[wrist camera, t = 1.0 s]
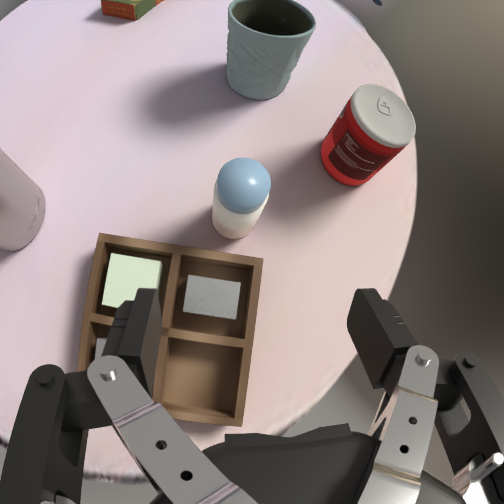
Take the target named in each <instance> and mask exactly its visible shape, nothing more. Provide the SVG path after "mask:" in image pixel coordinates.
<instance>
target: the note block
mask: <svg viewBox="0 0 504 504" xmlns="http://www.w3.org/2000/svg"><path fill="white" fill-rule="evenodd" d="M163 271H164V266H163V264H162V263H161V261H156V260H149V259H143V258H137V257H132V256H126V255H120V254H114V253H111V257H110V262H109V267H108V272H107V278H106V283H105V289H104V295H103V301H102V305H107V306H111V307H116V308H118V307H119V306H120V305H121V304H122V303H123V302H124V301H125V300H132V301H134V299H135V296H136V293H137V290H138V288H157V290H158V295H159V296H160V289H161V283H162V277H163Z"/></svg>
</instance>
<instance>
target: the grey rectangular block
mask: <svg viewBox="0 0 504 504" xmlns="http://www.w3.org/2000/svg"><path fill="white" fill-rule="evenodd" d="M240 285H241V283H240V282H233V281H226V280H220V279H213V278H206V277H200V276H194V275H188V281H187V287H186V294H185V301H184V307H183V312H185V313H192V314H198V315H205V316H211V317H218V318H225V319H232V320H235V319H236V316H237V308H238V300H239V293H240Z"/></svg>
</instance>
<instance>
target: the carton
mask: <svg viewBox="0 0 504 504" xmlns="http://www.w3.org/2000/svg"><path fill="white" fill-rule="evenodd" d="M162 1H163V0H101V5H102V12H103V15H109V16H114V17H120V18H125V19H130V20H135V21H136V20H138V19H139V18H141V17H142V16H143V15H144V14H146V13H147V12H148V11H149V10H151V9H152V8H153V7H155V6H156V5H158V4H159V3H160V2H162Z"/></svg>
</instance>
